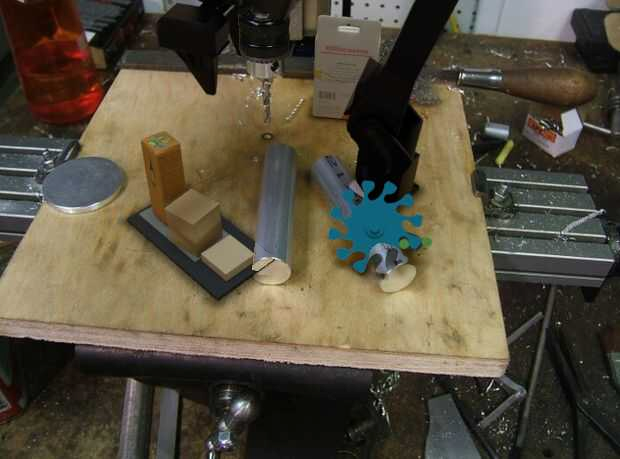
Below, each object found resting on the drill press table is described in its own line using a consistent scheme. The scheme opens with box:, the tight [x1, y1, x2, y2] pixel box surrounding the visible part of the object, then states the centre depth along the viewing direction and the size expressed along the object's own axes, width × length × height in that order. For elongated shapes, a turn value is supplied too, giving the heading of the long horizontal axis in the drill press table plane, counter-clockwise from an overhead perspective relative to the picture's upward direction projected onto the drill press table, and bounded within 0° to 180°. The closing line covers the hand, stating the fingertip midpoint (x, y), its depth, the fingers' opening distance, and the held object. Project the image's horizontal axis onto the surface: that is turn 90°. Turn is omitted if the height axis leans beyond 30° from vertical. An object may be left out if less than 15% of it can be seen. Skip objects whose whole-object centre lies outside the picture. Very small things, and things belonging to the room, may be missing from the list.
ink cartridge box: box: [312, 14, 382, 120], centre depth 76 cm, size 9×5×15 cm, turn 83°
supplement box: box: [140, 130, 187, 226], centre depth 61 cm, size 3×3×10 cm
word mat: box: [126, 188, 259, 301], centre depth 61 cm, size 16×8×2 cm, turn 46°
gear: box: [327, 181, 433, 274], centre depth 61 cm, size 11×6×10 cm
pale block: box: [165, 188, 223, 258], centre depth 60 cm, size 4×4×5 cm
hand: (227, 74), depth 64 cm, fingers open, 9 cm apart
